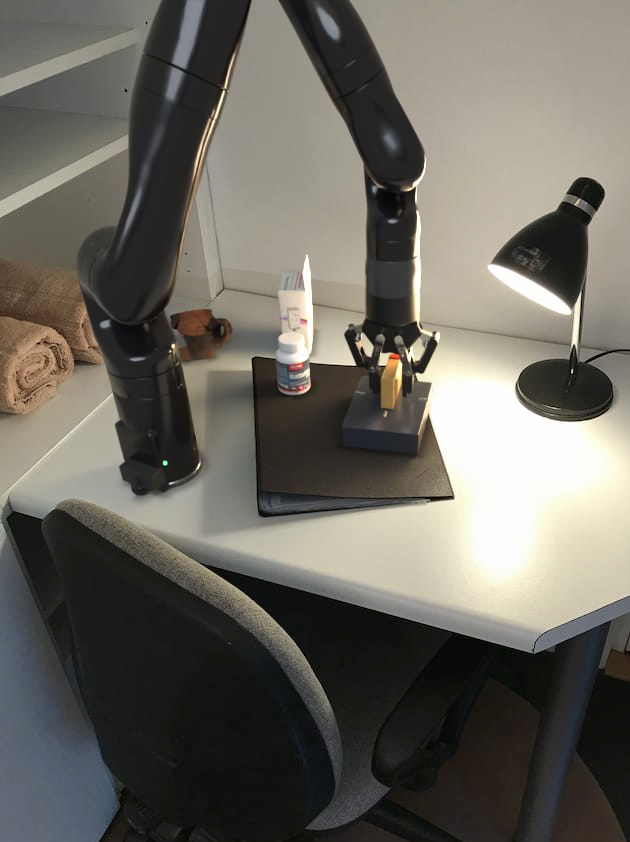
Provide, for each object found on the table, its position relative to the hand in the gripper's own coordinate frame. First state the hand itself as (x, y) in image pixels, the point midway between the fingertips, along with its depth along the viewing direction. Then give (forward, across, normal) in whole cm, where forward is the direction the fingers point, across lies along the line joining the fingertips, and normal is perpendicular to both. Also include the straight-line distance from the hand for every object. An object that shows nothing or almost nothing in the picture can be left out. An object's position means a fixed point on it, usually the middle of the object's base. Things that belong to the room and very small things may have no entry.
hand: (391, 392), depth 112 cm
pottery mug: (+4, -36, +14) cm, 39 cm away
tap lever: (+1, 0, 0) cm, 1 cm away
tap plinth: (+4, 0, -2) cm, 5 cm away
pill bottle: (+4, -17, +5) cm, 18 cm away
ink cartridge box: (+4, -20, +19) cm, 28 cm away
